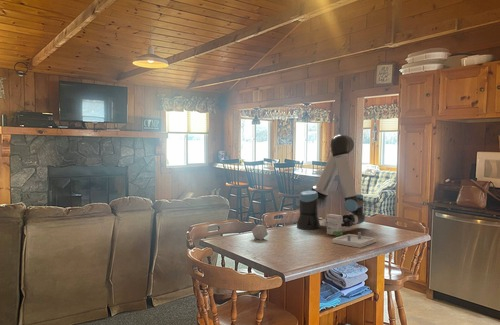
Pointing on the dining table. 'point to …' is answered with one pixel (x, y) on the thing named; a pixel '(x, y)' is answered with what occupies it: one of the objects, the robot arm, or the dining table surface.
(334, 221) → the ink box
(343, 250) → the dining table surface
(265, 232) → the die
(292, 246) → the dining table surface
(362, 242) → the pin tray
